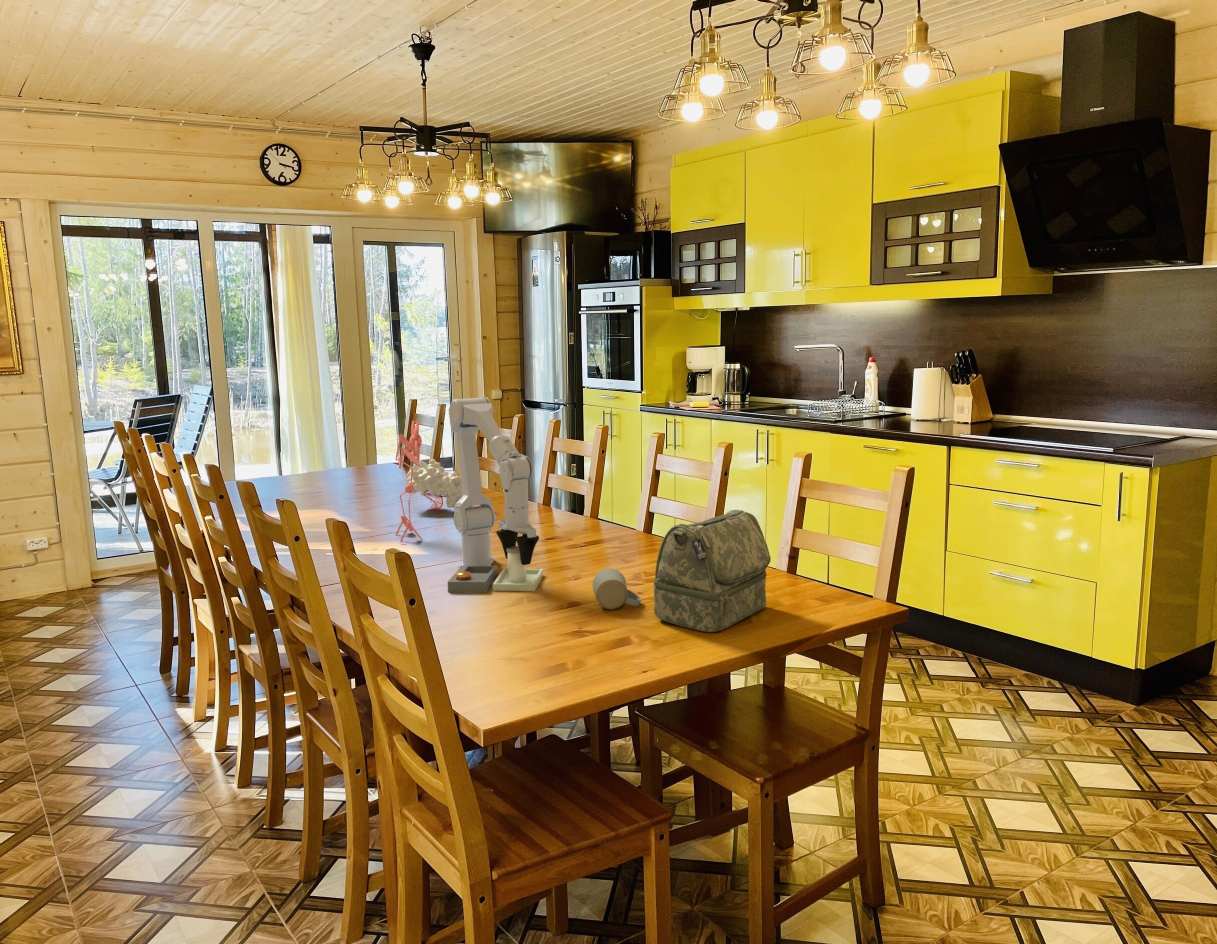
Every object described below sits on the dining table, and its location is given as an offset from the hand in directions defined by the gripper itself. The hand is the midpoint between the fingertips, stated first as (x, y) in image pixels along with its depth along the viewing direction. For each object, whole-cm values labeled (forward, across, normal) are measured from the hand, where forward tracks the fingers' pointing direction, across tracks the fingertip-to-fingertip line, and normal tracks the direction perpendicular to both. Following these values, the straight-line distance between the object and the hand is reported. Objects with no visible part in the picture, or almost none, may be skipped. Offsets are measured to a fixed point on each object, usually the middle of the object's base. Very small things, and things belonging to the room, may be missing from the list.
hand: (518, 561), depth 219 cm
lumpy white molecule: (+6, -95, +26) cm, 99 cm away
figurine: (+6, -62, +3) cm, 63 cm away
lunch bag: (+6, +48, +20) cm, 52 cm away
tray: (+5, 0, 0) cm, 5 cm away
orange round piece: (+5, -4, -13) cm, 14 cm away
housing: (+5, -6, -9) cm, 12 cm away
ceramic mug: (+6, +29, +8) cm, 31 cm away
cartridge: (+5, 0, 0) cm, 5 cm away
